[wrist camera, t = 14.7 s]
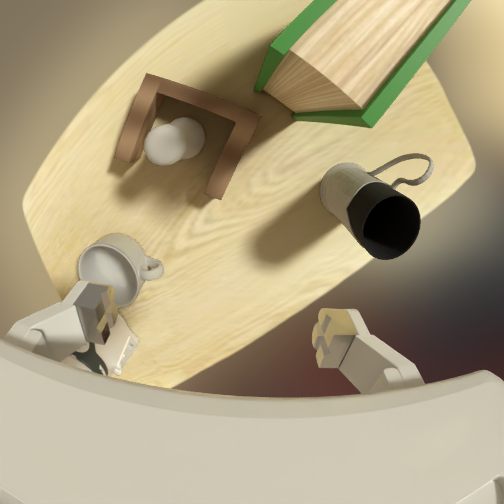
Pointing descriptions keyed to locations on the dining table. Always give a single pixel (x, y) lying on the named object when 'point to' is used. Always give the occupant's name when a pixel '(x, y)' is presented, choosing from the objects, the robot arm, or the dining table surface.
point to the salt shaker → (174, 141)
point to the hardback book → (353, 56)
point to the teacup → (119, 266)
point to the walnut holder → (158, 87)
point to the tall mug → (374, 206)
